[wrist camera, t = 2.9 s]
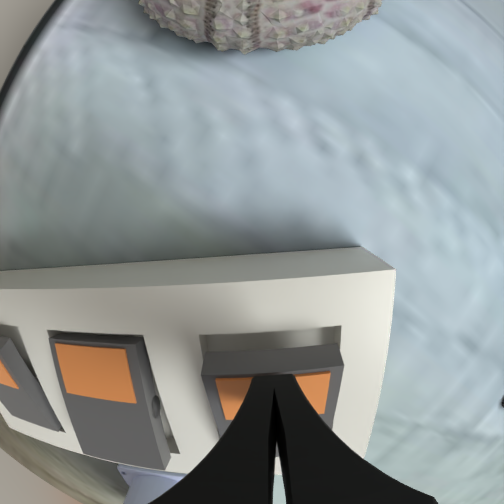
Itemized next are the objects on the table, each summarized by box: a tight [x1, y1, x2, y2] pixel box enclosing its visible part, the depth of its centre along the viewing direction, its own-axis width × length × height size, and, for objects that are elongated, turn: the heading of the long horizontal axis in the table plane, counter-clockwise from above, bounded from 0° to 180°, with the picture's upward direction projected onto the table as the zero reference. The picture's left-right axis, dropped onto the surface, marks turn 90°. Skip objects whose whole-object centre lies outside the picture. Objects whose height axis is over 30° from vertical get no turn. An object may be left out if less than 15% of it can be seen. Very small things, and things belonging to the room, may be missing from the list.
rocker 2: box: [201, 343, 344, 457], centre depth 12 cm, size 7×5×2 cm
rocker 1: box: [0, 336, 62, 432], centre depth 12 cm, size 7×5×2 cm
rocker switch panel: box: [0, 247, 396, 475], centre depth 14 cm, size 12×26×4 cm, turn 94°
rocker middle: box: [48, 333, 171, 470], centre depth 12 cm, size 7×5×2 cm
